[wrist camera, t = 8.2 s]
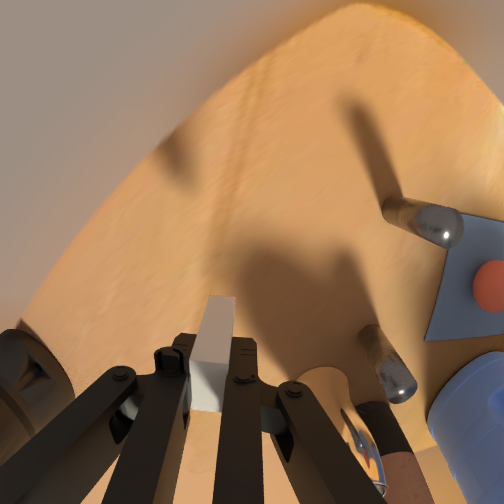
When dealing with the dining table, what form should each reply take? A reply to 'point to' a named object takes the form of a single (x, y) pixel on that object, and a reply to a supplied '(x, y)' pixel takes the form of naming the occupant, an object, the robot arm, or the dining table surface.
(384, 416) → the travel mug
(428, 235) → the post
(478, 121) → the dining table surface
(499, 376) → the water jug
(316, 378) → the beer glass
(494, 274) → the ball
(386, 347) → the post
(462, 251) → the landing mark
